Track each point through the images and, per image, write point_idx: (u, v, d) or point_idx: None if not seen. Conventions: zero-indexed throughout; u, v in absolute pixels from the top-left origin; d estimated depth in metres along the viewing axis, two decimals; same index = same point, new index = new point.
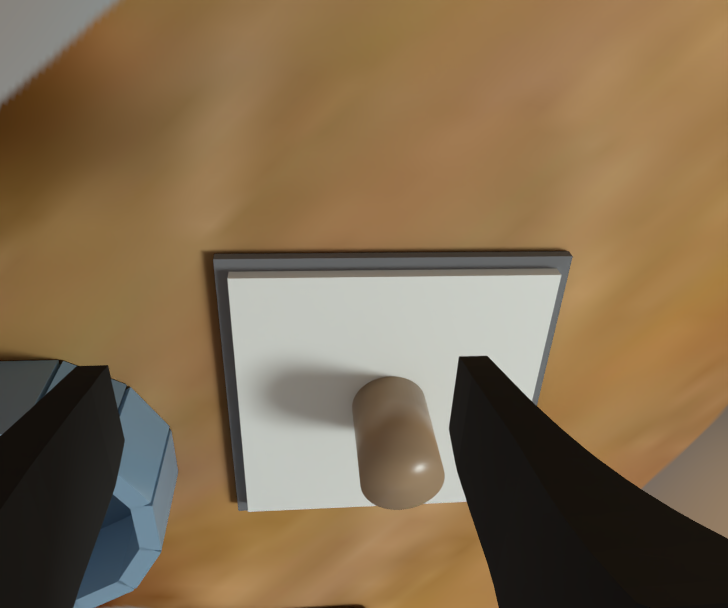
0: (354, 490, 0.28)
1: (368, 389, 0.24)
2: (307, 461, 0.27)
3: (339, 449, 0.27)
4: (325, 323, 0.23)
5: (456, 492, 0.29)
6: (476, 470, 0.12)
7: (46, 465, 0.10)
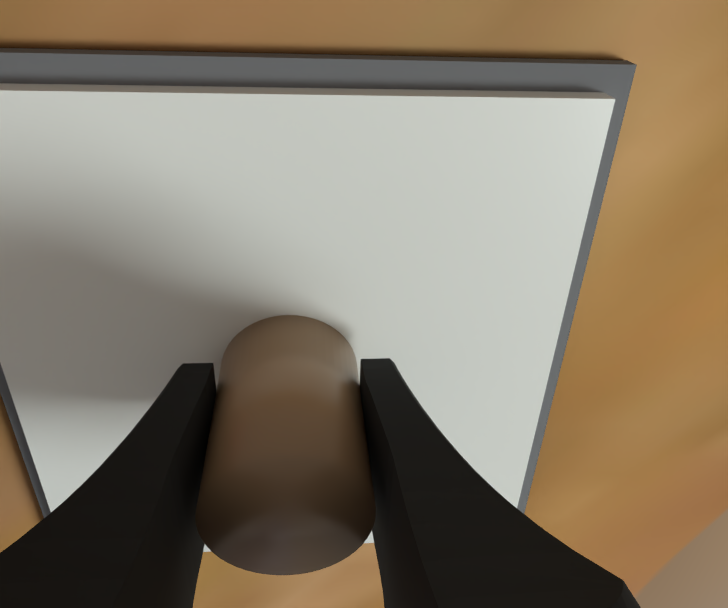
0: None
1: (243, 338, 0.13)
2: None
3: None
4: (142, 200, 0.12)
5: None
6: None
7: (180, 460, 0.10)
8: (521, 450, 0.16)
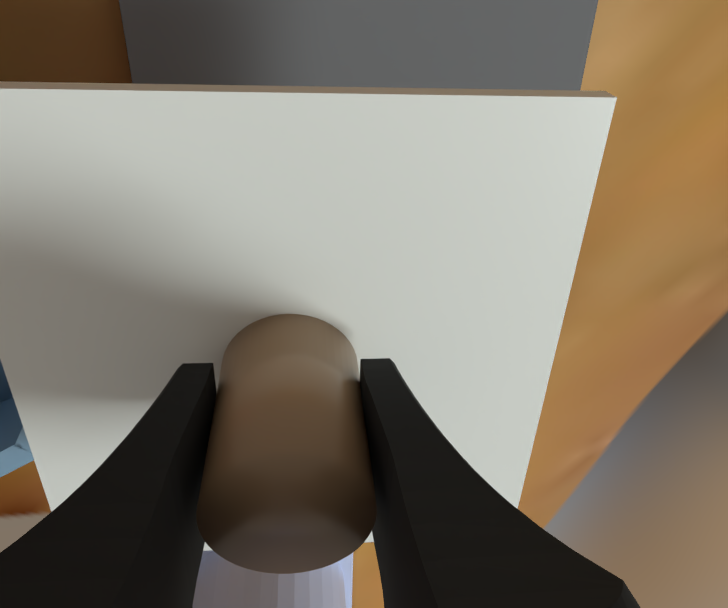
0: None
1: (243, 337, 0.13)
2: None
3: None
4: (143, 198, 0.12)
5: None
6: None
7: (180, 460, 0.10)
8: (522, 449, 0.16)
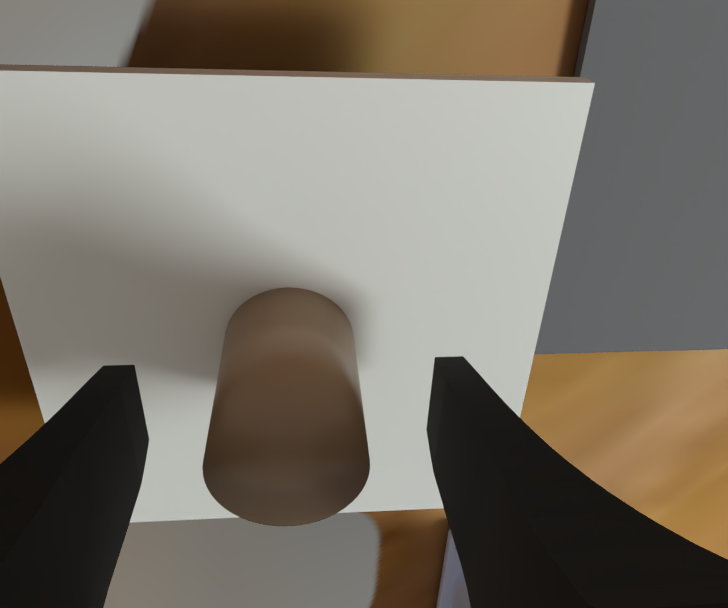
0: None
1: (246, 309, 0.14)
2: (161, 442, 0.16)
3: None
4: (152, 176, 0.12)
5: (416, 494, 0.18)
6: (450, 471, 0.12)
7: (80, 464, 0.10)
8: None
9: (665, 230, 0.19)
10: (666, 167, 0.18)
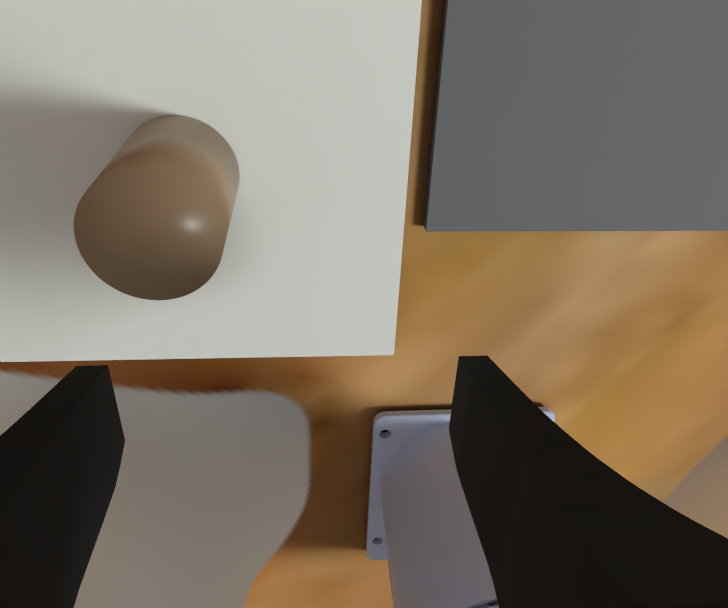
0: (156, 330, 0.19)
1: (135, 131, 0.15)
2: (72, 274, 0.18)
3: None
4: None
5: (313, 339, 0.20)
6: (476, 470, 0.12)
7: (46, 465, 0.10)
8: (393, 263, 0.18)
9: (547, 105, 0.20)
10: (542, 41, 0.19)
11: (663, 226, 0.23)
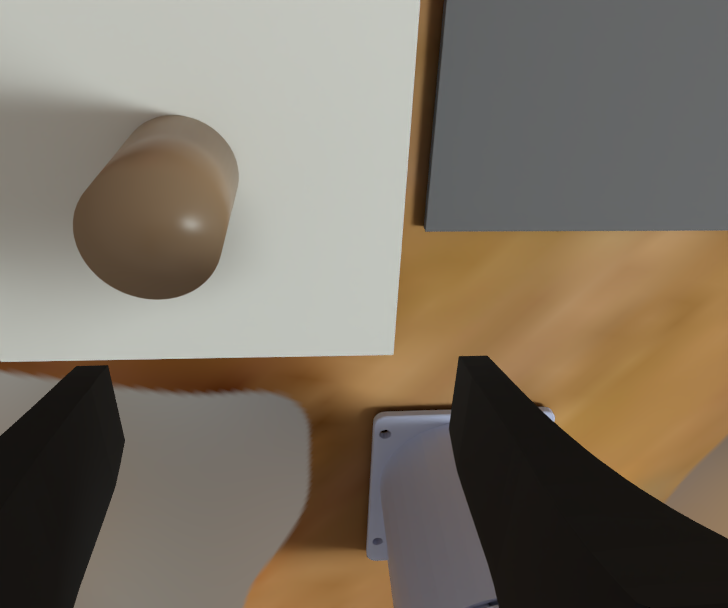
0: (156, 330, 0.19)
1: (134, 131, 0.15)
2: (72, 274, 0.18)
3: None
4: None
5: (313, 339, 0.20)
6: (476, 470, 0.12)
7: (46, 465, 0.10)
8: (392, 263, 0.18)
9: (546, 105, 0.20)
10: (540, 41, 0.19)
11: (662, 226, 0.23)
